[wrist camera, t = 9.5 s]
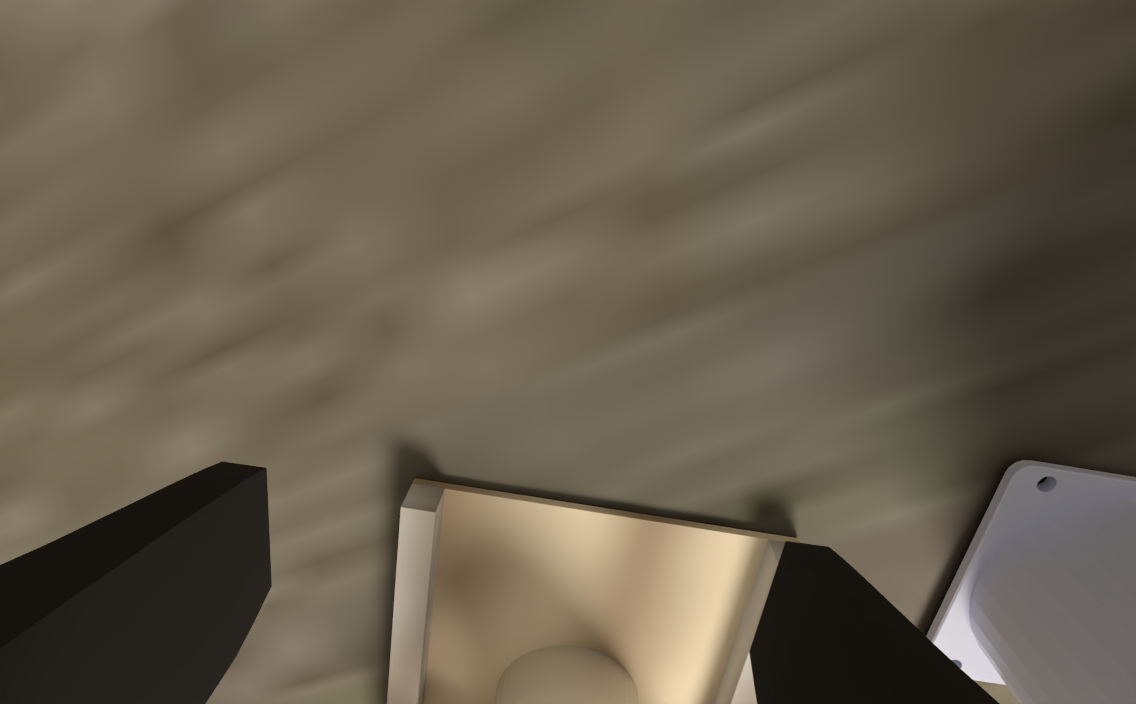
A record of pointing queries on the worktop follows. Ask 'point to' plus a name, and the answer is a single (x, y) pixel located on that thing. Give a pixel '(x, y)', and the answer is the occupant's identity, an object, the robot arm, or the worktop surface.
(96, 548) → the robot arm
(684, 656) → the lane
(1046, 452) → the worktop surface
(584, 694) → the jar
